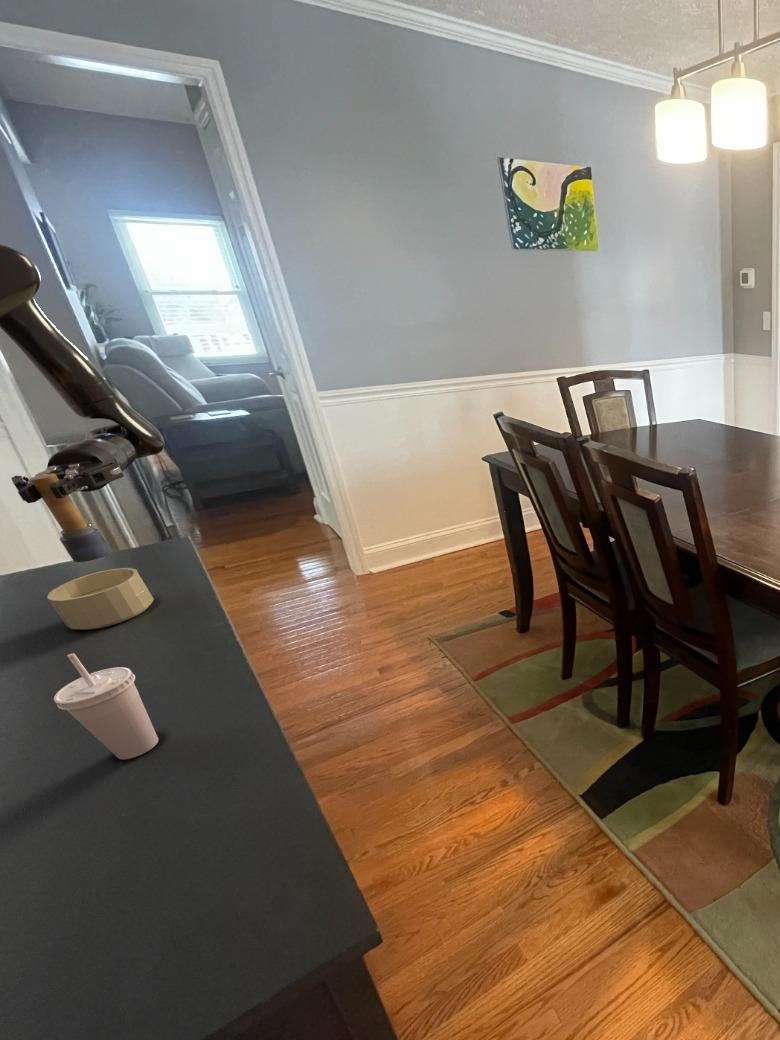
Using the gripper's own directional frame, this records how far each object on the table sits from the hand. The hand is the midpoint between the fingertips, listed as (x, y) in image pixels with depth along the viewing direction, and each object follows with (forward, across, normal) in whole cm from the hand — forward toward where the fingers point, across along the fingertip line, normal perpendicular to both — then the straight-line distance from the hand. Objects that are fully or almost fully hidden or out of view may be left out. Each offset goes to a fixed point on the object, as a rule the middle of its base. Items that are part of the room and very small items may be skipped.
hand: (41, 494), depth 91 cm
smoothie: (+46, +16, +21) cm, 53 cm away
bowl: (+2, 0, +21) cm, 21 cm away
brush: (-3, 0, +12) cm, 12 cm away
